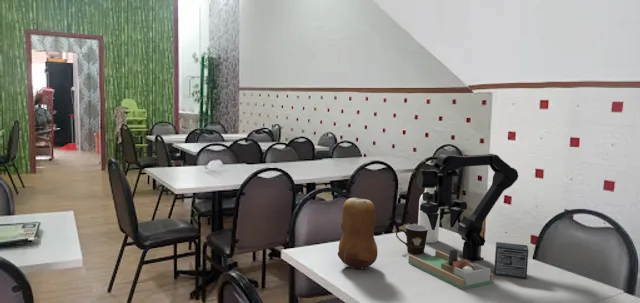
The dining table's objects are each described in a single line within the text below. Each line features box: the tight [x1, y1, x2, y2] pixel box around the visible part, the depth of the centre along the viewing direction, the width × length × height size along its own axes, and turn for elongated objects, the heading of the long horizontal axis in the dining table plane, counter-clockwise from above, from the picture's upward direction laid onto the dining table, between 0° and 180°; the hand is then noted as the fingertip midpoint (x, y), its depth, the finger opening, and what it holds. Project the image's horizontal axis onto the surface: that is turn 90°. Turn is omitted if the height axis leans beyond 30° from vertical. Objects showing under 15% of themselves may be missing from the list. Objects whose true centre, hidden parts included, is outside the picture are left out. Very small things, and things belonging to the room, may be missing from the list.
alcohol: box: [417, 186, 441, 244], centre depth 206 cm, size 9×9×30 cm
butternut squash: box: [337, 197, 378, 270], centre depth 171 cm, size 14×13×25 cm
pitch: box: [407, 249, 494, 290], centre depth 170 cm, size 14×27×5 cm, turn 29°
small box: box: [493, 241, 530, 280], centre depth 170 cm, size 11×6×10 cm, turn 71°
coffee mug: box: [395, 224, 428, 256], centre depth 192 cm, size 12×9×10 cm
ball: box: [462, 266, 473, 272], centre depth 163 cm, size 4×4×4 cm
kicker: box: [441, 249, 470, 275], centre depth 168 cm, size 6×8×7 cm
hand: (442, 228), depth 183 cm, fingers open, 9 cm apart
